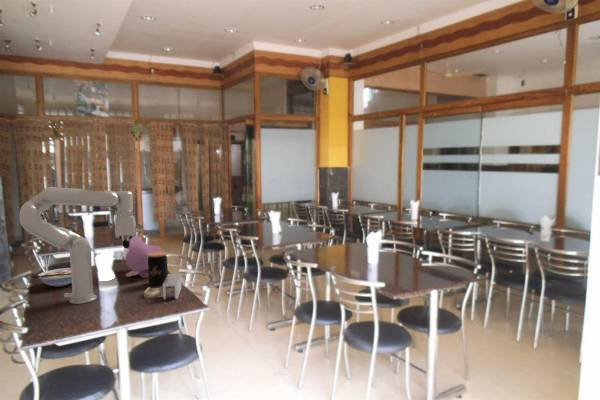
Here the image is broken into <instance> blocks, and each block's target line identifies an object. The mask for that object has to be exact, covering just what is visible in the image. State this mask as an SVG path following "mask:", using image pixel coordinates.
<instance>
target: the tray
mask: <svg viewBox="0 0 600 400" xmlns="http://www.w3.org/2000/svg"><path fill="white" fill-rule="evenodd" d="M174 291H175V287H174V288H168V287H166V294H170V293H174ZM143 298H144V299H151V298H153V299H154V298H163V287H160V288H159V287H158V288H151V286H148V287H147V288H146V289H145V290H144V291H143Z"/></svg>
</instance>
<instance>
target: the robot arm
mask: <svg viewBox="0 0 600 400" xmlns="http://www.w3.org/2000/svg"><path fill="white" fill-rule="evenodd" d="M133 197H134V196H133V192H132V191H131V190H120V191H116V190H115V191H114V190H113V191H112V190H106V191H96V190H89V189H84V188H71V187H55V186H48V187H46V188H45V189H43V190H42V191H41V192H39V193H38V194H37V195H35V196H34V197H32V198H31V199H29V200H28V201H26V202H25V203H24V204H23V205H21V207H20V211H19V222H20V225H21V227H22V228H23V229H24V230H25V231H26V232H28V234H31V235H32V236H34V237H36V238H38V239H39V240H41V241H43V242H45V243H47V244H50V245H51V246H53V247H54V248H60V249H61V248H62V249H63V250H66V251H68V252H69V261H70V263H69V264H70V268H71V277H72V283H71V289H72V291H71V292H64V294H63V297H64V299H69V303H71V304H73V305H78V304H79V305H80V304H87V303H90V302H91V303H92V302H94V301H95V300H97V298H98V296H97V294H94V285H93V284H94V283H93V282H94V281H93V267H92V247H91V245H90V242H89V240H88V239H86V238H85V237H83V236H82V235H79V234H77V233H76V232H73V231H72V230H70V229H68V228H66V227H62V226H56V225H54V224H52V223H50V222H48V221H46V220H44V219H43V218H42V216H41V214H43V213H44V212H45V211H47V210H49V209H50V208H51V207H52V206H53V205H58V206H59V205H61V206H63V205H64V206H82V207H84V206H86V207H87V206H89V207H91V206H92V207H115V206H116V205H117V211H115V212H114V215H117V216H116V217H115V223H114V235H115V238H118V239H120V240H121V241H122V247H123V249H128V248H129V246H130V239H131V238H133V237H136V236H138V235H137V224H136V218H135V216H134V210H133V209H134V208H133V207H134V204H133V203H134V202H133V201H134V200H133Z"/></svg>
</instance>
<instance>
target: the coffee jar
mask: <svg viewBox="0 0 600 400" xmlns="http://www.w3.org/2000/svg"><path fill="white" fill-rule="evenodd" d="M167 255H168V254H167V252H166V251H162V252H152V253H149V254H148V275H149V277H148V284H149V286H150V287H151V286H152V287H163V283H164V281H165V279H166V277H167V275H168V274H169V272H168V271H169V270H168V256H167Z"/></svg>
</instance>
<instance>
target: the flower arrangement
mask: <svg viewBox="0 0 600 400" xmlns="http://www.w3.org/2000/svg"><path fill="white" fill-rule="evenodd" d="M127 249H128V251H127V253H126V255H125V263H126V266H127V267H128V268H129V270H131V271H129V272H126V274H125V277H132V276H137V275H138V276H140V277H141V278H144V279H147V278H148V279H149V275H148V254H149V253H152V252H163V251H162V249H161V247H160V246H159V245H151V244H150V245H148V244H147V243H146V242H144V241H143V239H142V237H140V236H138V235H137V236H136V237H133V238H131V239H130V246H129V248H127Z"/></svg>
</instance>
